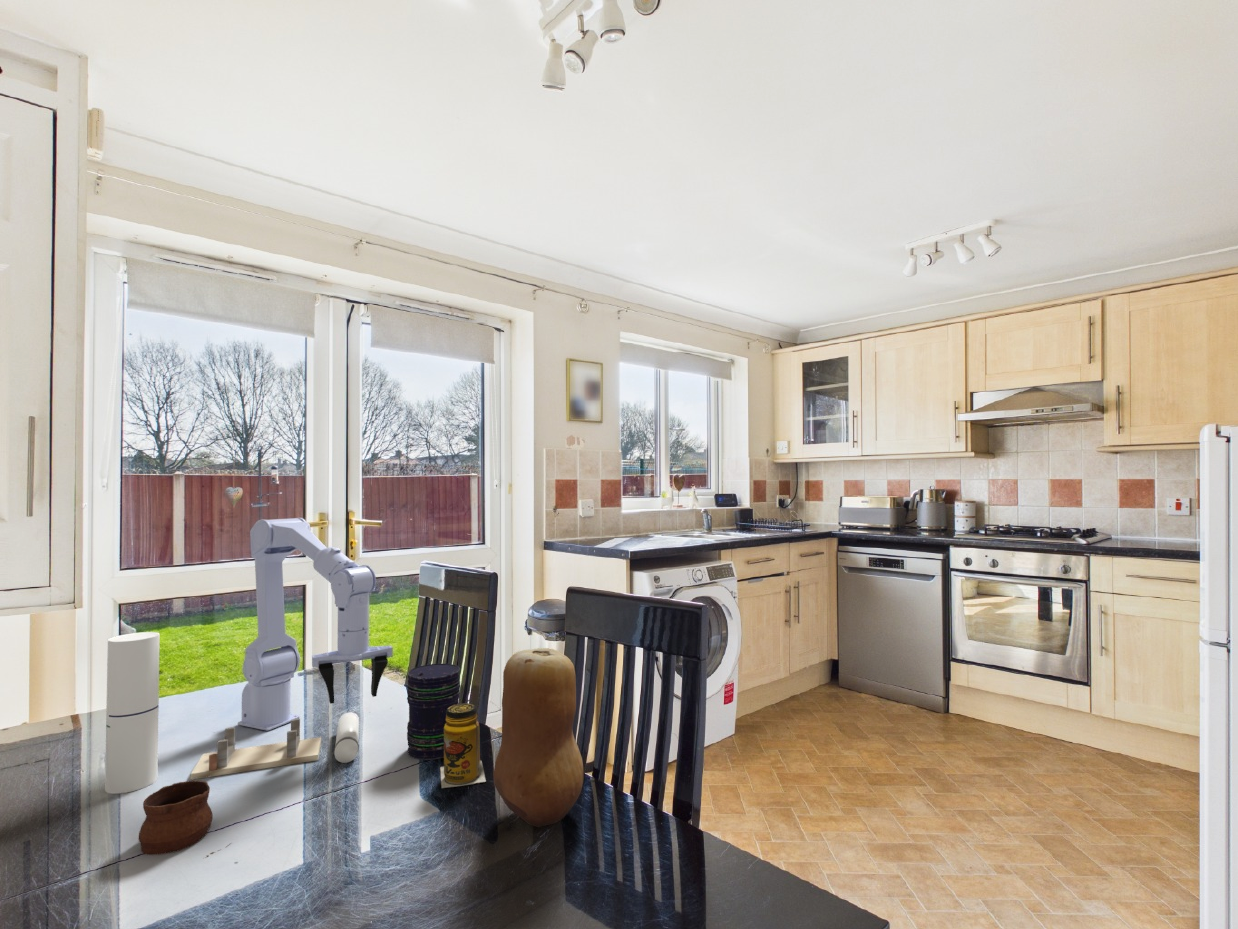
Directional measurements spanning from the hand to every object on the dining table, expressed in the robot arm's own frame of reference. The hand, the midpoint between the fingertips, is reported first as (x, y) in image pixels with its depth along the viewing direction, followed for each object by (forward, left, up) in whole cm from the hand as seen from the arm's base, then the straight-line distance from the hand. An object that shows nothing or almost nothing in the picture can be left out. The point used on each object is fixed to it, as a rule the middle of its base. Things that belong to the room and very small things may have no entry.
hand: (353, 698), depth 124 cm
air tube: (0, -1, -7) cm, 7 cm away
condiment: (+28, -2, -9) cm, 29 cm away
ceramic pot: (+2, -34, -10) cm, 36 cm away
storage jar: (+16, +5, -9) cm, 19 cm away
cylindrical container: (-23, -26, -9) cm, 36 cm away
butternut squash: (+48, -10, -9) cm, 50 cm away
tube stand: (-11, -11, -9) cm, 18 cm away
